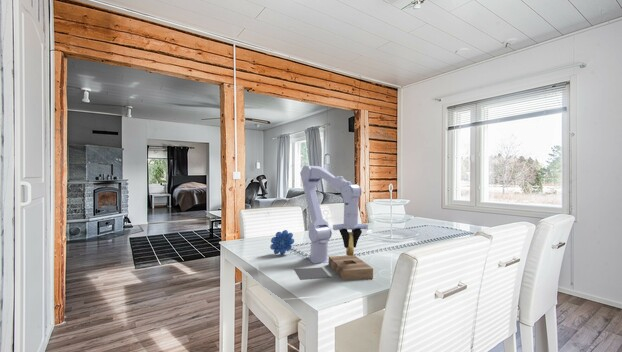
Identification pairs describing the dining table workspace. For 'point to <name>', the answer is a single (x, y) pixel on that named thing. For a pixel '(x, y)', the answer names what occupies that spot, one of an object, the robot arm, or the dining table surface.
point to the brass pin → (350, 244)
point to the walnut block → (350, 267)
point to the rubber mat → (311, 273)
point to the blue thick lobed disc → (282, 242)
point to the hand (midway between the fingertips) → (350, 247)
